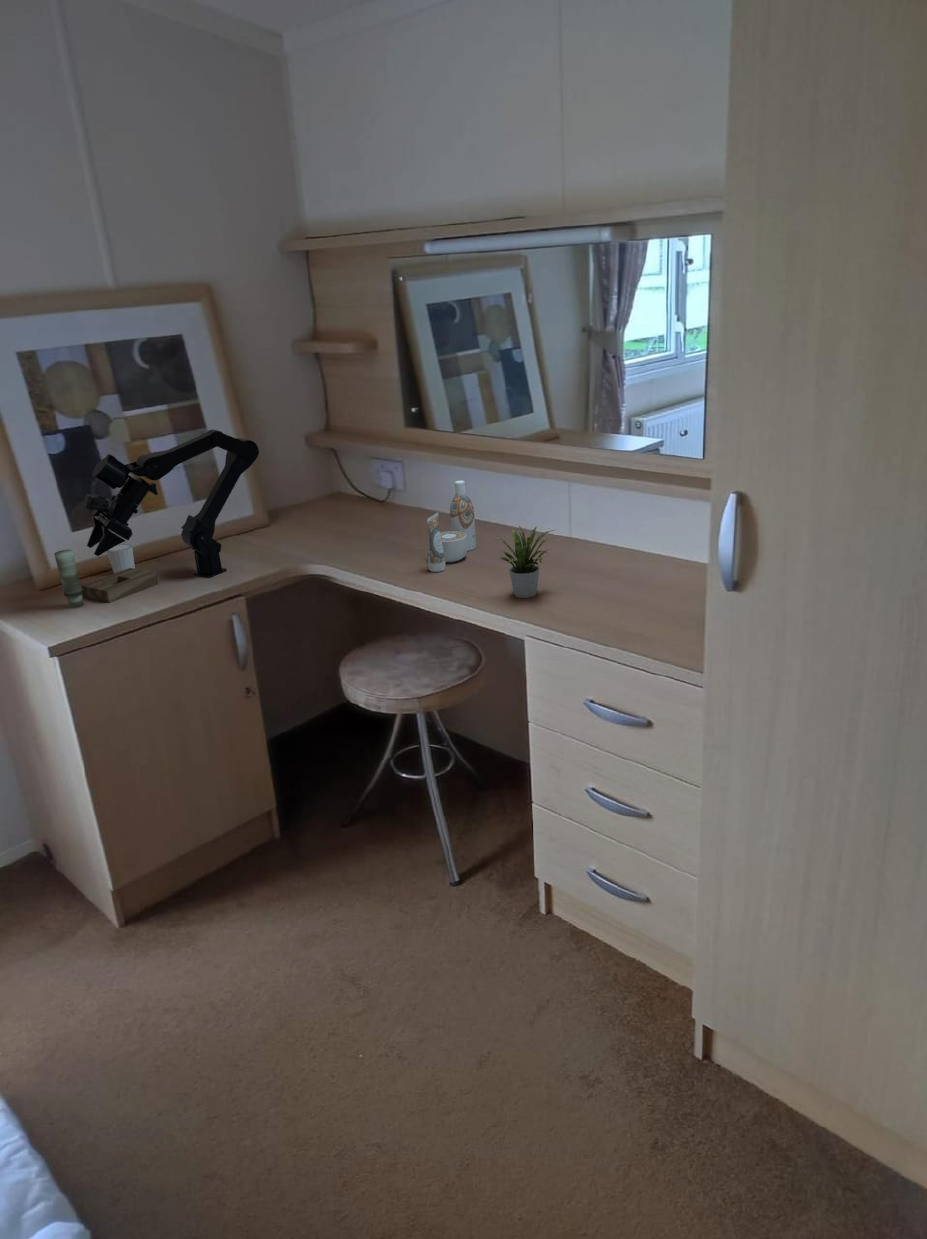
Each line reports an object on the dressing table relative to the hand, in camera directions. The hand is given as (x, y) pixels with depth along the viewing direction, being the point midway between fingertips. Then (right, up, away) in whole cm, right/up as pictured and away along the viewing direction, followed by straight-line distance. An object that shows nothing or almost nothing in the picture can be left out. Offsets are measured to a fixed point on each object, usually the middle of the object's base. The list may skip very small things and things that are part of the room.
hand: (92, 551), depth 220 cm
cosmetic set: (+89, -1, +16) cm, 90 cm away
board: (+3, -9, +11) cm, 15 cm away
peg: (-5, -14, +2) cm, 14 cm away
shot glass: (-2, -4, +26) cm, 26 cm away
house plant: (+108, -11, -13) cm, 109 cm away
